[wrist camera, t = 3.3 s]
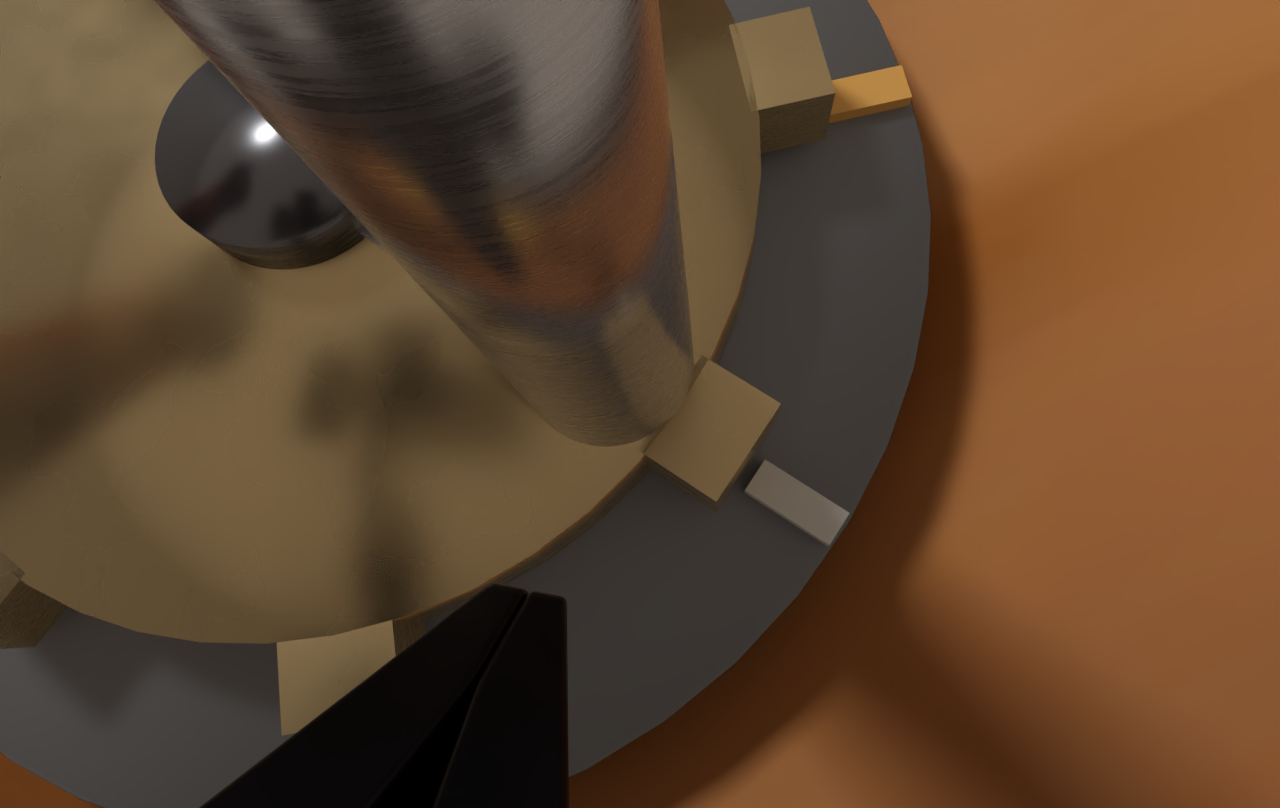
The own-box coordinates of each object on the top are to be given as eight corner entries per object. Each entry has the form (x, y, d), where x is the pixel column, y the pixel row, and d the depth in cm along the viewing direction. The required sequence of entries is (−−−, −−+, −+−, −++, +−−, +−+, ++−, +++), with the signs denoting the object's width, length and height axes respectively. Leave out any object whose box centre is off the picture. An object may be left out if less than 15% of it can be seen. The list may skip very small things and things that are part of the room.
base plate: (1126, 571, 15) (1179, 566, 13) (-76, 1001, 15) (-177, 1052, 14) (686, -285, 22) (683, -362, 20) (-142, 20, 22) (-215, -30, 20)
